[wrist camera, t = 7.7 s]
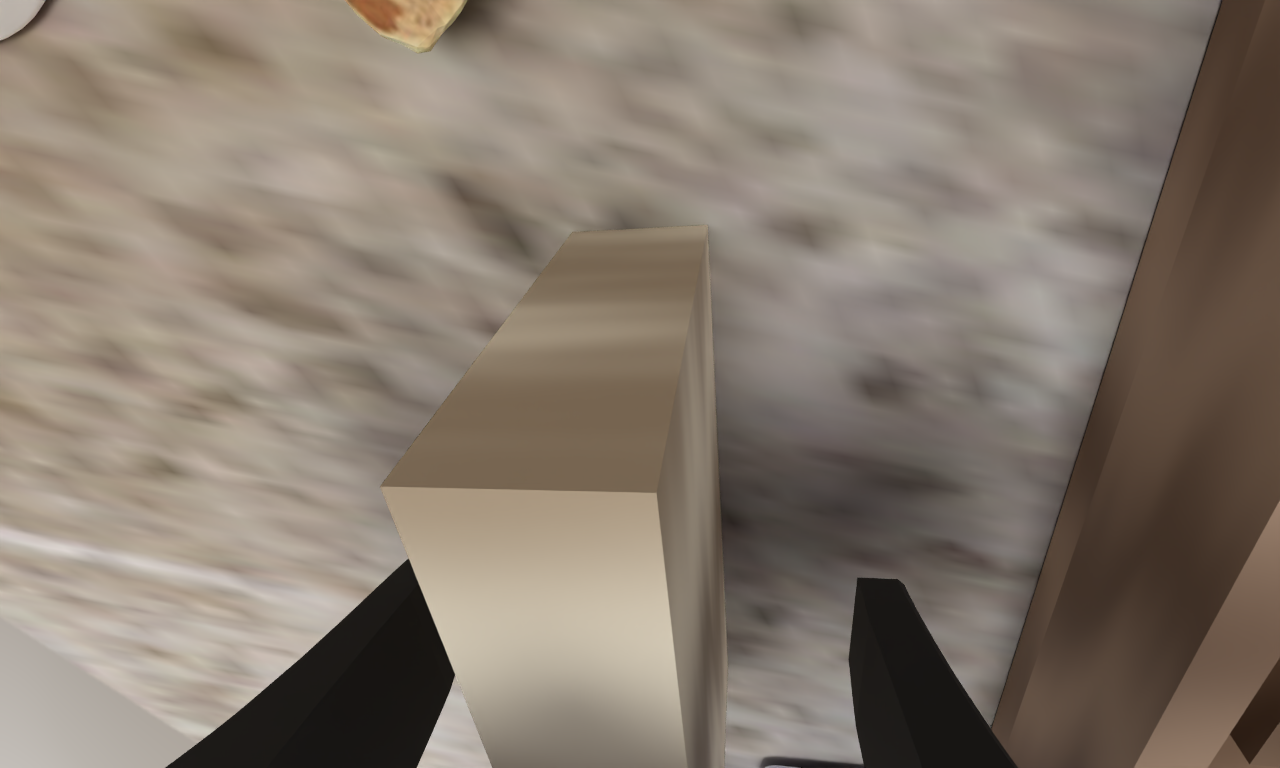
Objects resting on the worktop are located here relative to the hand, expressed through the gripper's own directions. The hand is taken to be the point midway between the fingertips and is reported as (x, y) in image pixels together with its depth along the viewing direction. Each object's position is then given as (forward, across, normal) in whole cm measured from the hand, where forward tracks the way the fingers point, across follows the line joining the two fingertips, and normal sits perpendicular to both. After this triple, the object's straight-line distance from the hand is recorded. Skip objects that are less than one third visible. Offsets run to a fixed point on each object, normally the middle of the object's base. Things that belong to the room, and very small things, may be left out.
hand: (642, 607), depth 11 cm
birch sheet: (+4, 0, 0) cm, 4 cm away
